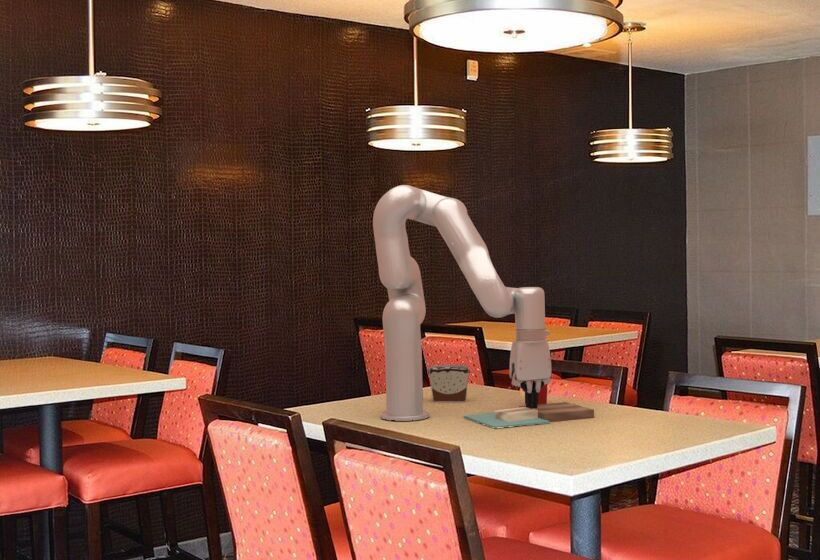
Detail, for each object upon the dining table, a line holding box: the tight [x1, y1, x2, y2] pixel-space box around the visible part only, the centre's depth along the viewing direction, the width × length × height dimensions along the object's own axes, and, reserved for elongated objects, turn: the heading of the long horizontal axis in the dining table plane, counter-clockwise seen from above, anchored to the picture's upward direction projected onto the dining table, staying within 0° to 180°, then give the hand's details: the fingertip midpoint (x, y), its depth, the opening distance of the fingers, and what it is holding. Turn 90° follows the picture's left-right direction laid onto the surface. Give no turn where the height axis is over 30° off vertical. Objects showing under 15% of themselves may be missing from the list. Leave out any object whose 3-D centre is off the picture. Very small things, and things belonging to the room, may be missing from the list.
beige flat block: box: [494, 406, 538, 422], centre depth 261 cm, size 6×9×2 cm, turn 120°
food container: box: [426, 364, 471, 403], centre depth 296 cm, size 12×6×10 cm, turn 82°
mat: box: [463, 412, 551, 428], centre depth 261 cm, size 18×15×1 cm
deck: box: [518, 401, 595, 423], centre depth 267 cm, size 14×14×2 cm
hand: (531, 407), depth 264 cm, fingers closed
